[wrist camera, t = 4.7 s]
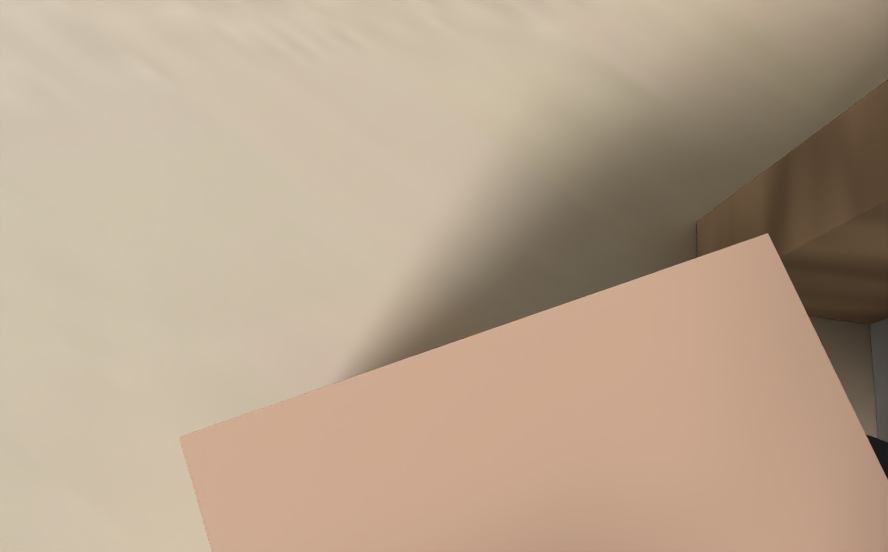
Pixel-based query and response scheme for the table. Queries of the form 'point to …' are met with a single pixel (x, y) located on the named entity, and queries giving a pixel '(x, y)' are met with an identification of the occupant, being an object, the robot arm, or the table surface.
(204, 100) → the table surface
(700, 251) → the cleat board
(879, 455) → the robot arm
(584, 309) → the pinkish tan block
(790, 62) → the table surface
